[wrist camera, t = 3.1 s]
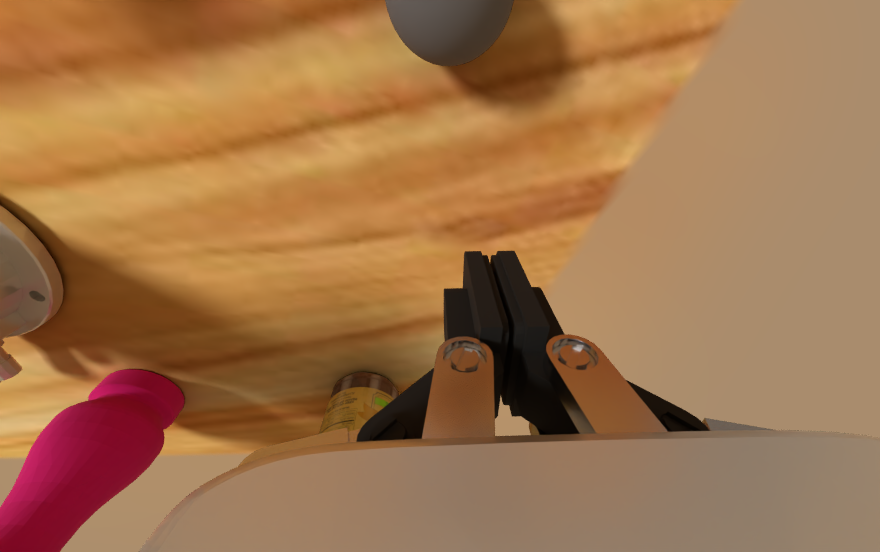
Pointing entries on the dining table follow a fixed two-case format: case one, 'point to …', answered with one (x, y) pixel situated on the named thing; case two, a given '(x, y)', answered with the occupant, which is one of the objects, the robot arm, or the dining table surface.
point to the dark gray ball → (449, 27)
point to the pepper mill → (87, 459)
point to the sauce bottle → (357, 401)
